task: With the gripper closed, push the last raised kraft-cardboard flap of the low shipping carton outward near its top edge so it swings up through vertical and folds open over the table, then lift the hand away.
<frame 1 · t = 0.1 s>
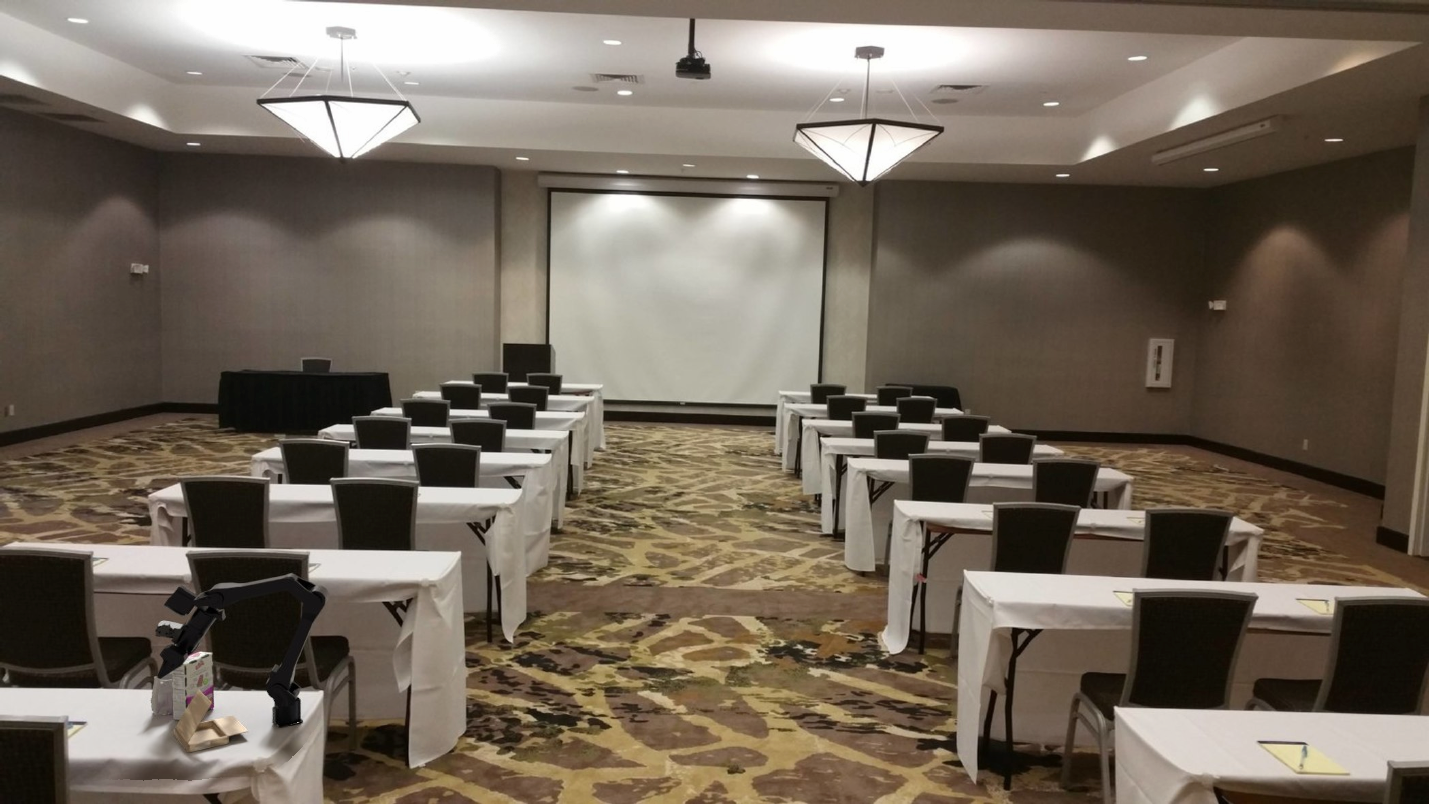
hand: (163, 673, 281), 16 cm above the table, tool tilted 35°, fingers open, 8 cm apart
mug: (165, 713, 293), on the table
flap: (193, 715, 274), point 7 cm above the table, hinge at -32.0°
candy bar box: (193, 714, 292), on the table, touching gripper
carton: (201, 739, 276), on the table
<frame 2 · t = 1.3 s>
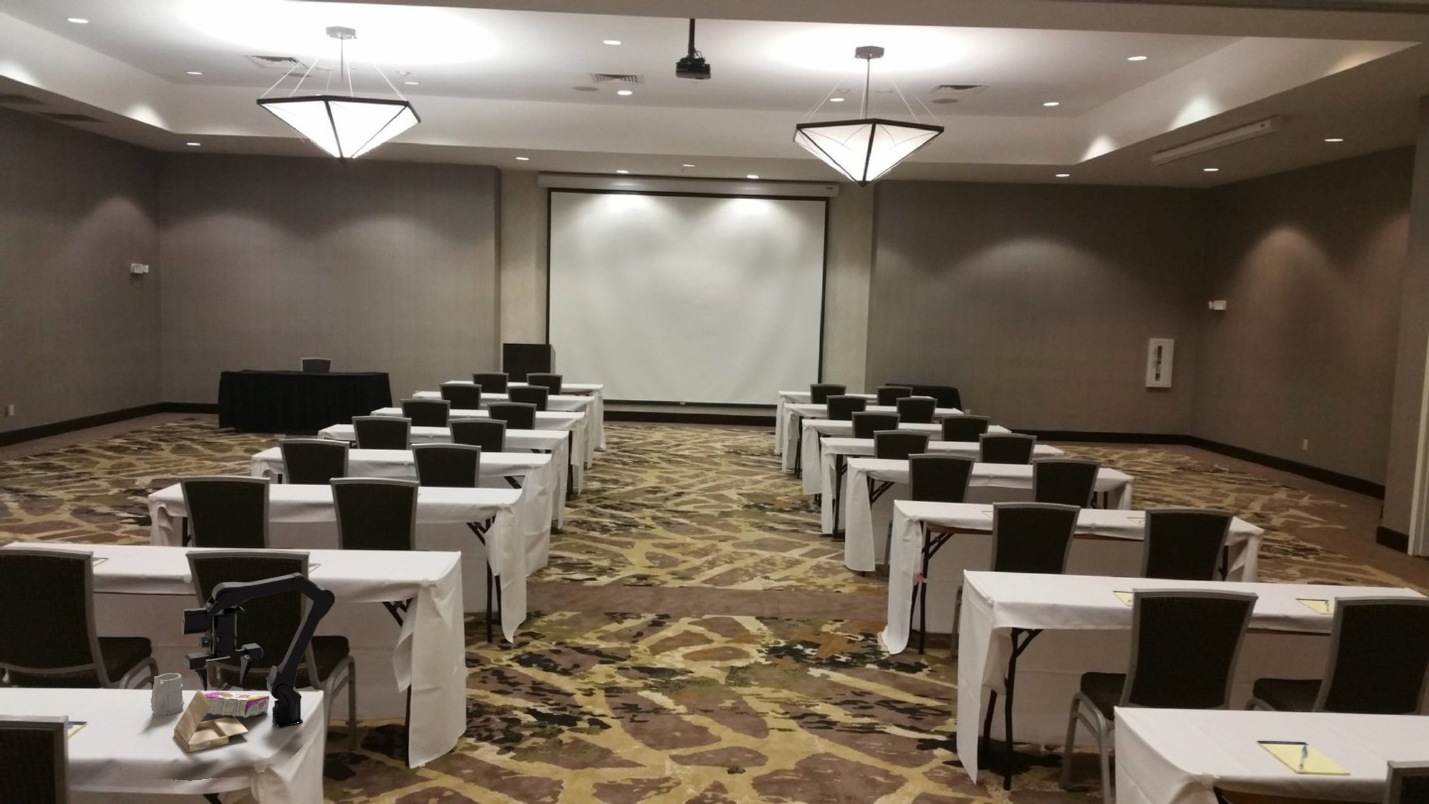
hand: (223, 687, 279), 13 cm above the table, tool pointing down, fingers open, 9 cm apart
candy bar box: (204, 701, 293), point 4 cm above the table, touching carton
everything else where it was.
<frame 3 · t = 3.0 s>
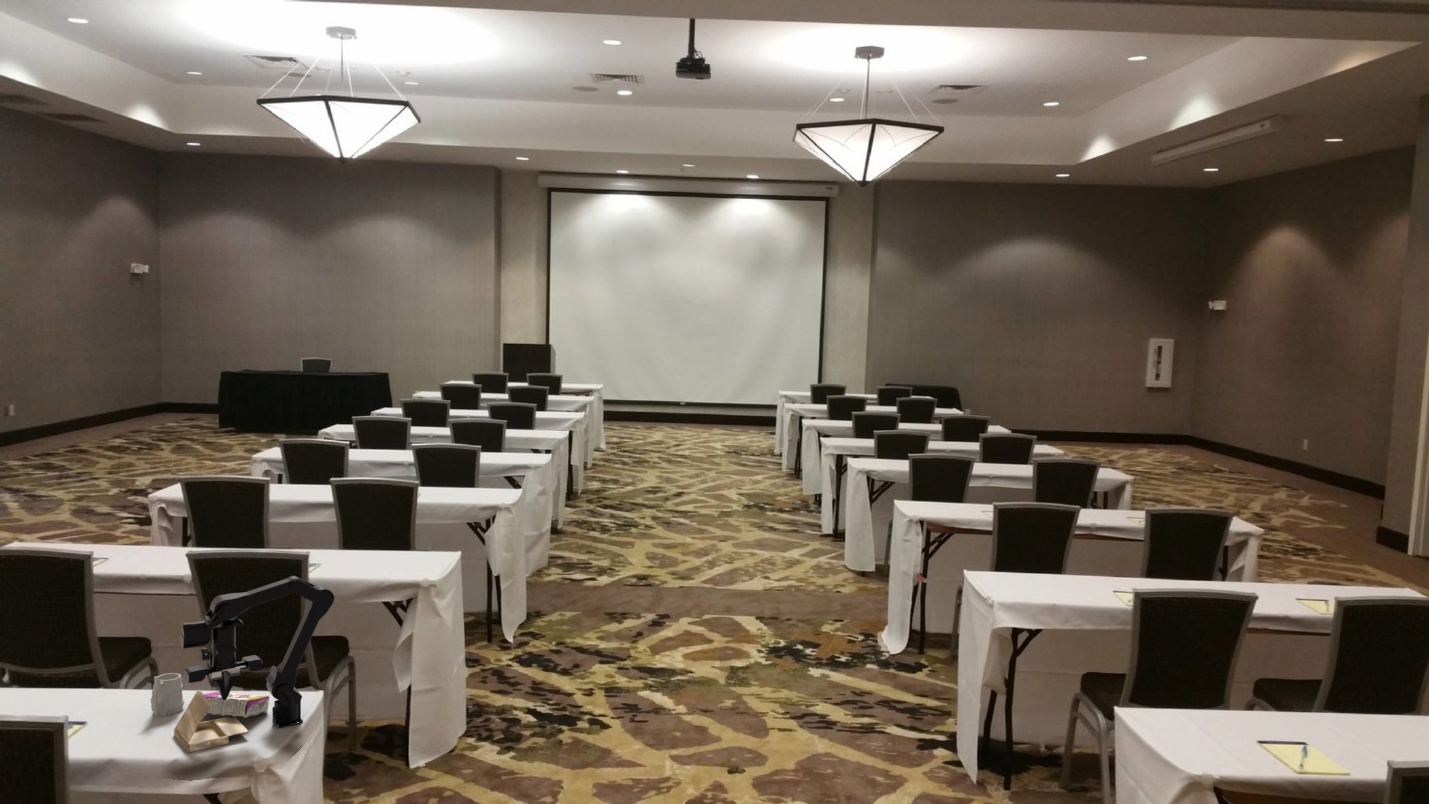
hand: (224, 699, 279), 10 cm above the table, tool pointing down, fingers closed
nothing on the table moved.
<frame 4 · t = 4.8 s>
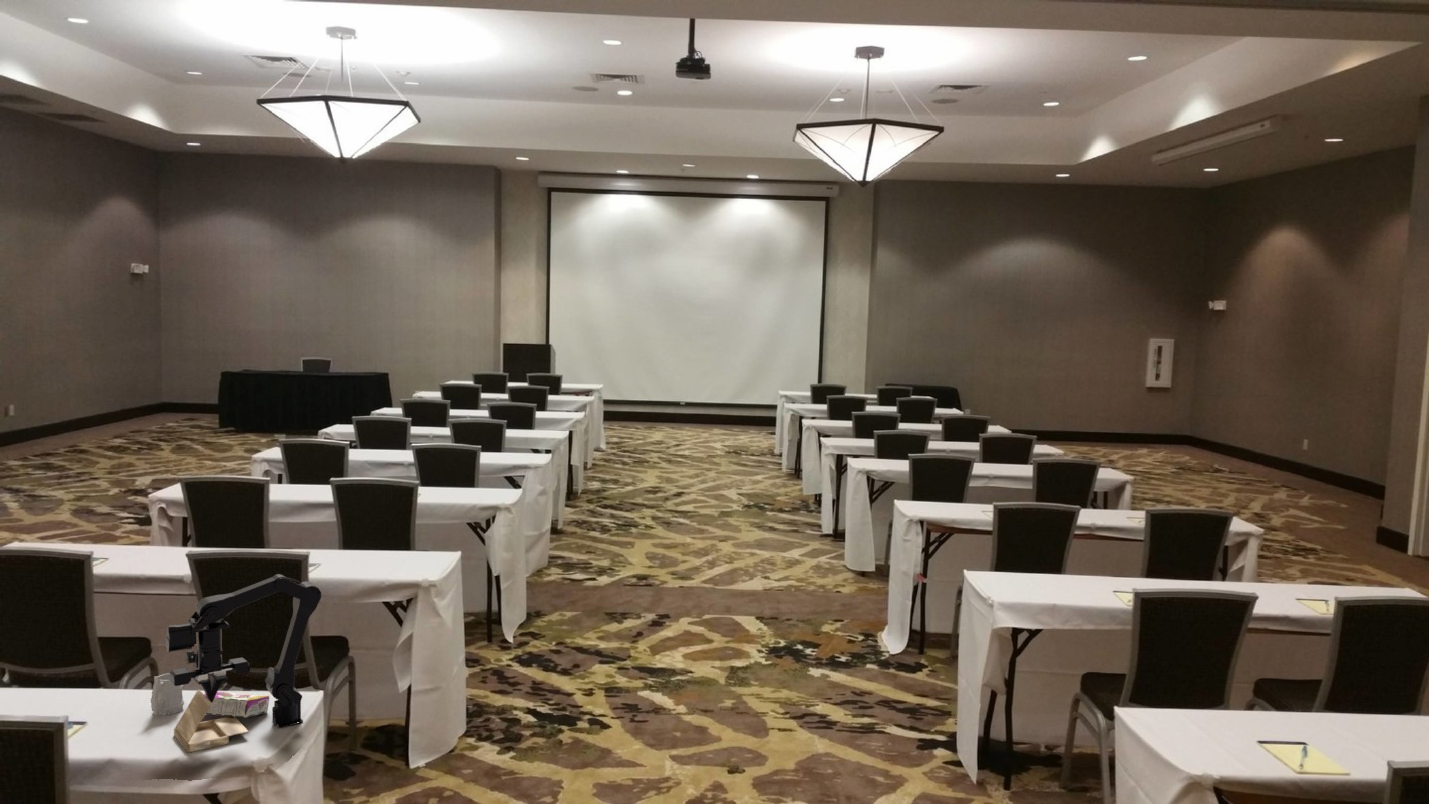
hand: (210, 702, 276), 10 cm above the table, tool pointing down, fingers closed
flap: (193, 715, 274), point 7 cm above the table, hinge at -31.9°, touching gripper
everything else where it was.
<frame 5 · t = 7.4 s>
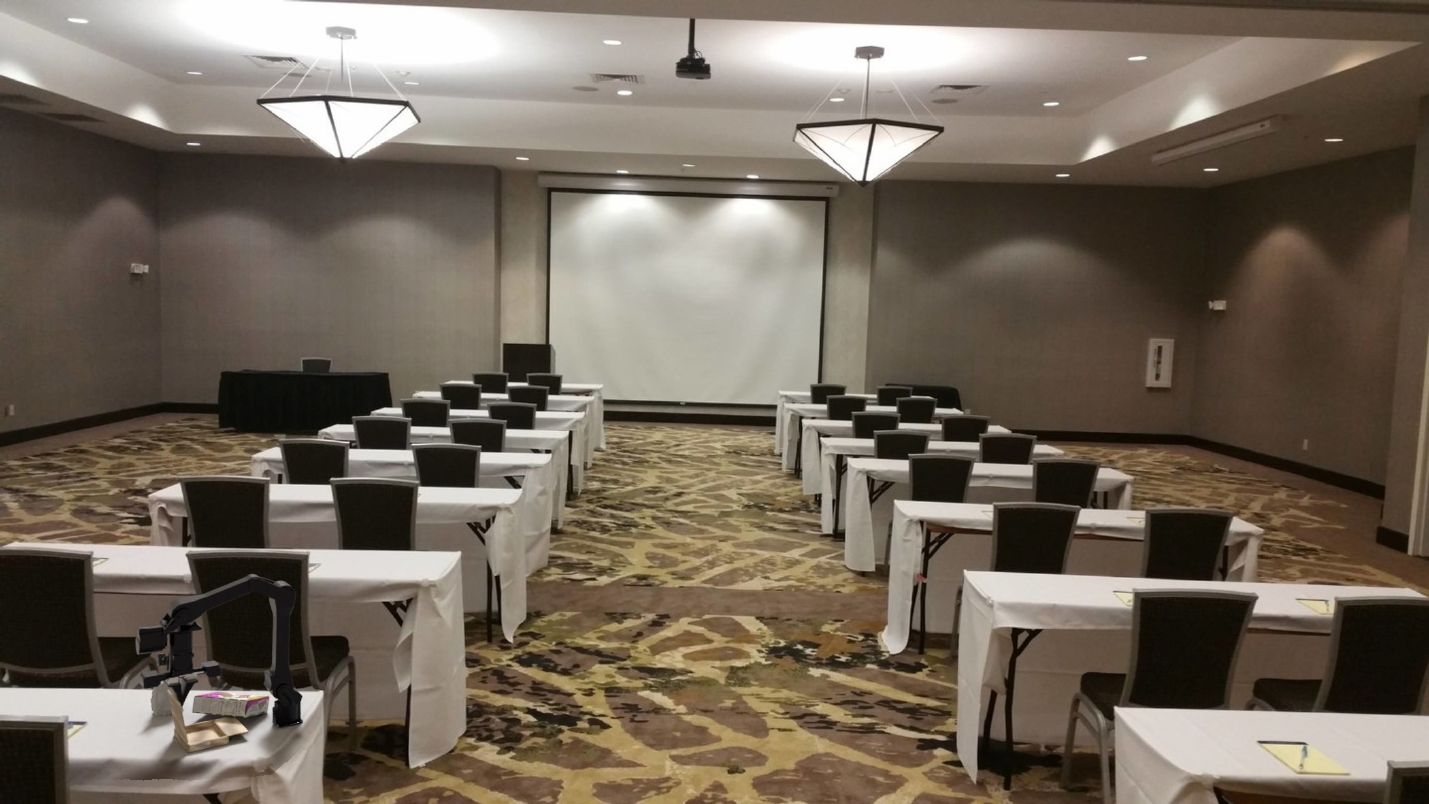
hand: (180, 706, 272), 10 cm above the table, tool pointing down, fingers closed
flap: (177, 716, 271), point 8 cm above the table, hinge at 9.1°, touching gripper
everything else where it was.
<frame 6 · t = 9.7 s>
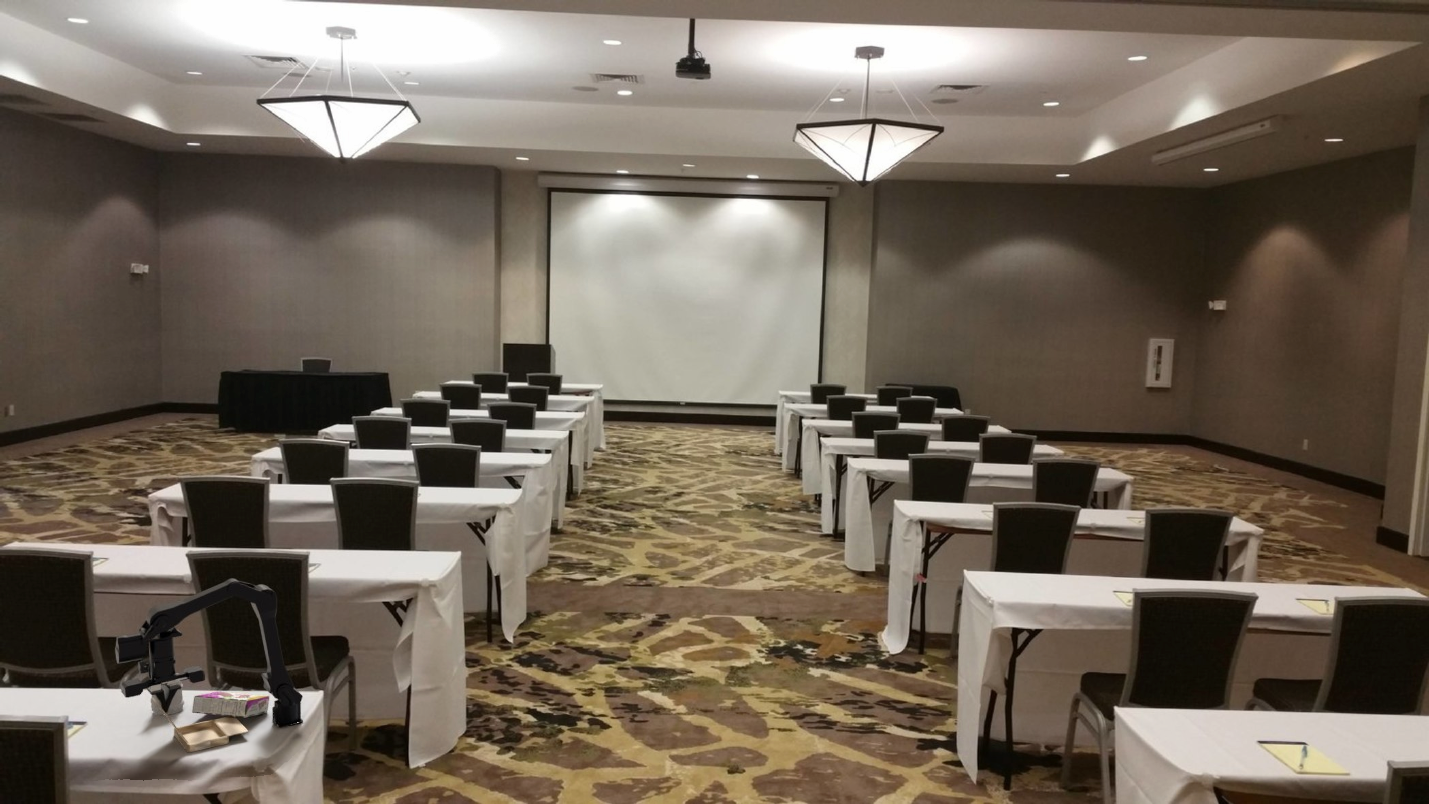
hand: (165, 712, 269), 9 cm above the table, tool pointing down, fingers closed, pressing on flap
flap: (169, 720, 270), point 7 cm above the table, hinge at 29.9°, touching gripper
everything else where it was.
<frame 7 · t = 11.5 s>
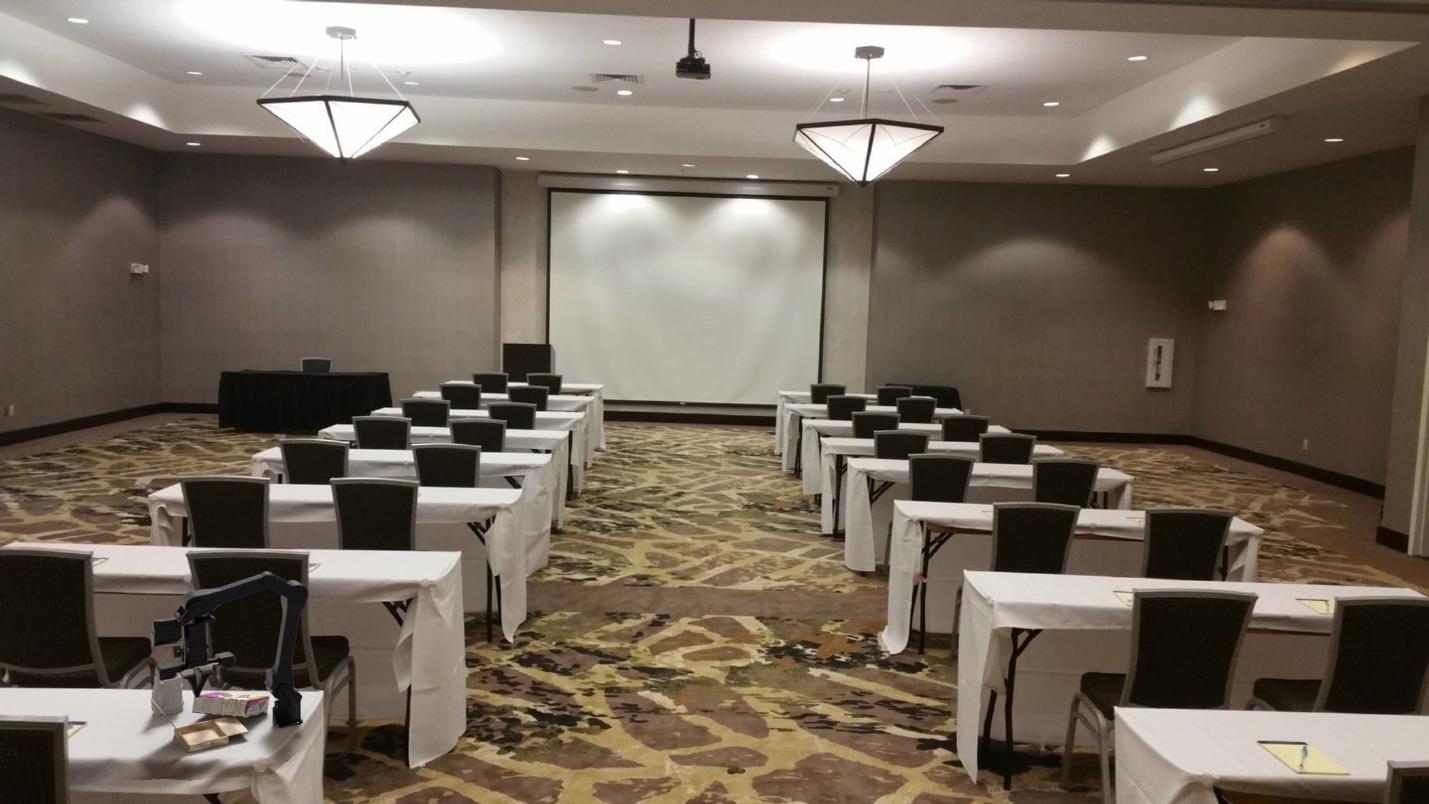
hand: (196, 697, 274), 12 cm above the table, tool pointing down, fingers closed
flap: (169, 720, 270), point 7 cm above the table, hinge at 31.4°
everything else where it was.
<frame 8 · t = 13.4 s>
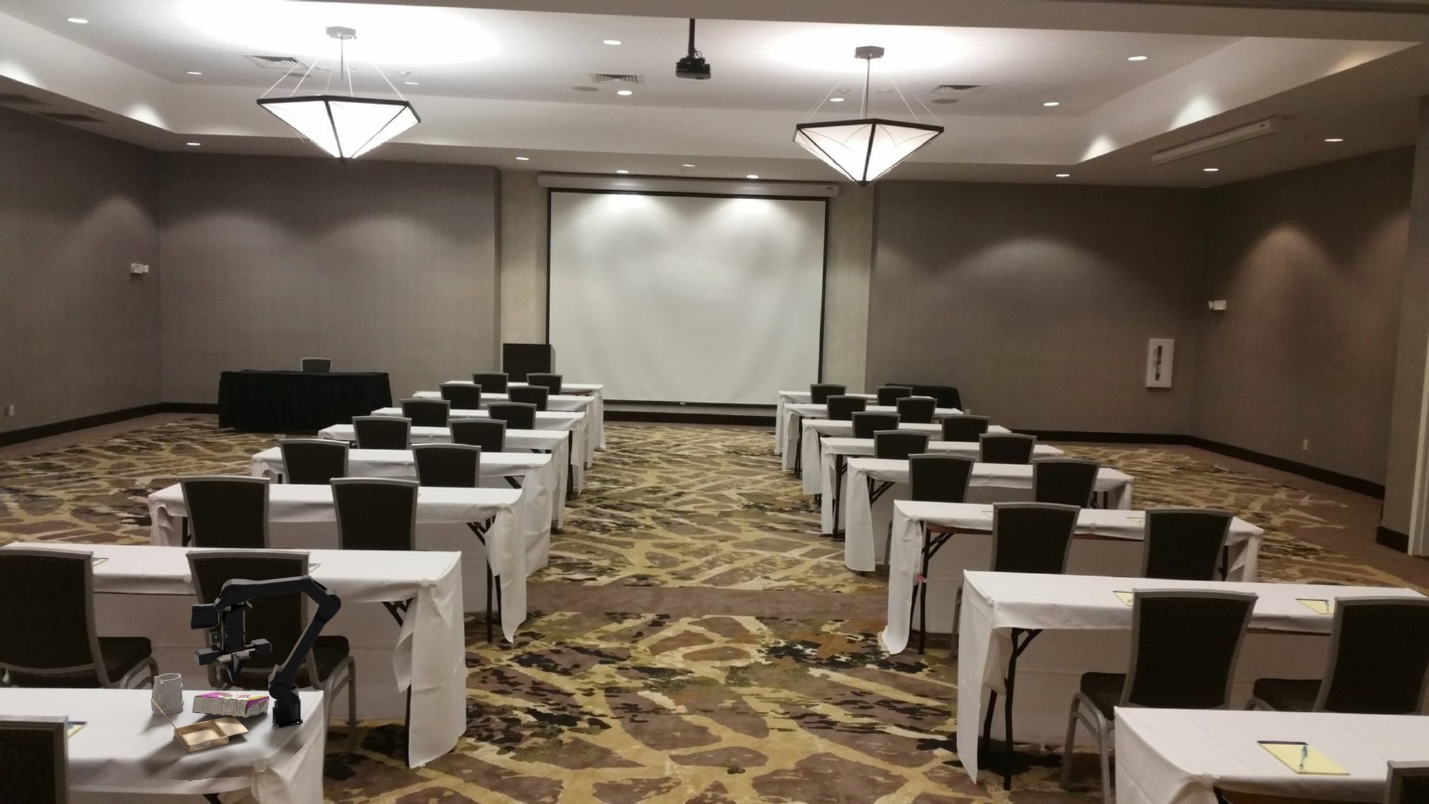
hand: (233, 682, 282), 13 cm above the table, tool pointing down, fingers closed
nothing on the table moved.
at the end: flap at +31° (first picture: -32°) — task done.
